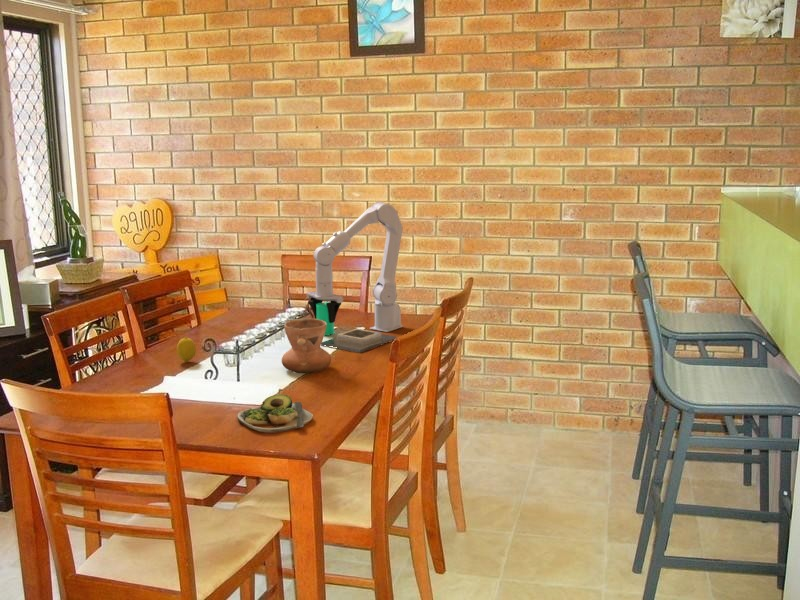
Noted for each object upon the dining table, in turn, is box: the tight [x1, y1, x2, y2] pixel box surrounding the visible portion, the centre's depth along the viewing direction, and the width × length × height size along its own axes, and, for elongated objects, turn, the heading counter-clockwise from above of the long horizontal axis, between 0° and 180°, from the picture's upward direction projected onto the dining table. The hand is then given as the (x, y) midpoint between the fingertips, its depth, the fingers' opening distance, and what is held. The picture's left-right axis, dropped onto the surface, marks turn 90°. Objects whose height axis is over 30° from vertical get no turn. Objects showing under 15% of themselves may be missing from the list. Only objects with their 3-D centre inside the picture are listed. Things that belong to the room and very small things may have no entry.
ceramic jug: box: [281, 317, 332, 374], centre depth 250 cm, size 18×14×14 cm
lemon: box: [176, 336, 197, 363], centre depth 258 cm, size 6×6×8 cm
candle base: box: [320, 328, 398, 354], centre depth 281 cm, size 20×16×3 cm
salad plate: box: [236, 393, 314, 434], centre depth 208 cm, size 19×18×5 cm
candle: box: [316, 300, 335, 336], centre depth 292 cm, size 6×6×12 cm
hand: (325, 321), depth 292 cm, fingers closed on candle, 6 cm apart
